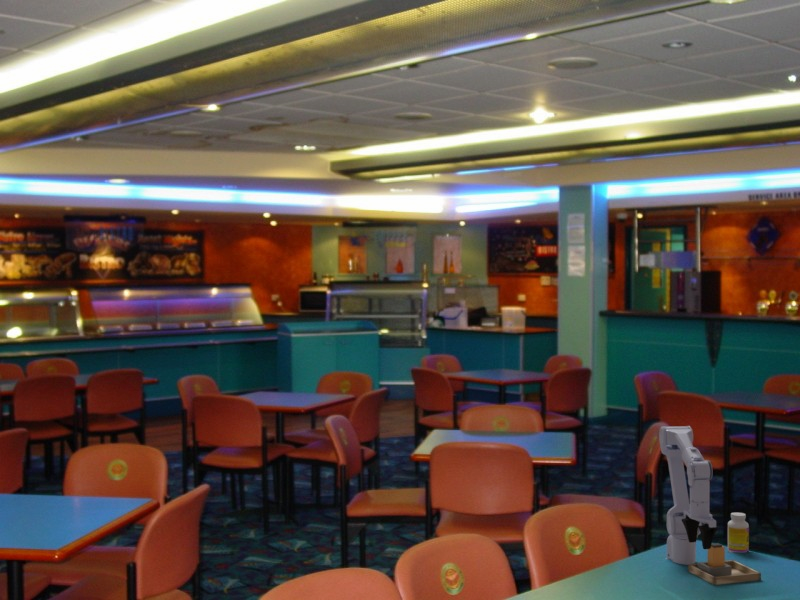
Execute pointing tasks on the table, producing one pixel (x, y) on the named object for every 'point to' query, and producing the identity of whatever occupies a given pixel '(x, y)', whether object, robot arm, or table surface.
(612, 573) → the table surface
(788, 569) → the table surface
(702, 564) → the inlet socket
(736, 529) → the supplement bottle
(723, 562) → the plug
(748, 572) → the walled box
